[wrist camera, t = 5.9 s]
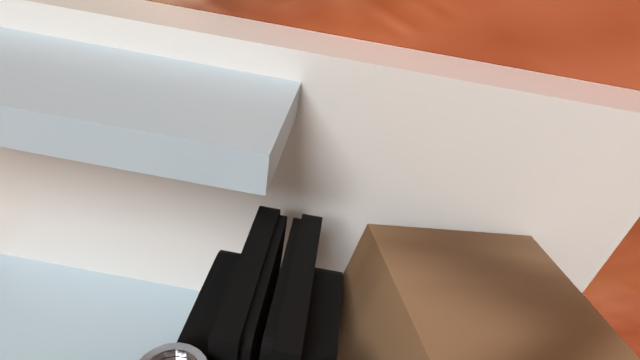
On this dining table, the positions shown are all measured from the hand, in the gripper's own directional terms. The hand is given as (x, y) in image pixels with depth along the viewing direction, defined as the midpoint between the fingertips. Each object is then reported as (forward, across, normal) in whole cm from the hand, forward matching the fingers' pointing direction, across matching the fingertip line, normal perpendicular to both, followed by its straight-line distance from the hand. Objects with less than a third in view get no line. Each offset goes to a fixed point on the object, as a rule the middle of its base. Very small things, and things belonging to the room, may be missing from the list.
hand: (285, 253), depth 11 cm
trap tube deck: (+3, +4, 0) cm, 5 cm away
